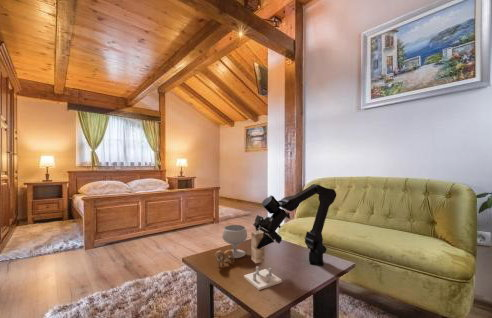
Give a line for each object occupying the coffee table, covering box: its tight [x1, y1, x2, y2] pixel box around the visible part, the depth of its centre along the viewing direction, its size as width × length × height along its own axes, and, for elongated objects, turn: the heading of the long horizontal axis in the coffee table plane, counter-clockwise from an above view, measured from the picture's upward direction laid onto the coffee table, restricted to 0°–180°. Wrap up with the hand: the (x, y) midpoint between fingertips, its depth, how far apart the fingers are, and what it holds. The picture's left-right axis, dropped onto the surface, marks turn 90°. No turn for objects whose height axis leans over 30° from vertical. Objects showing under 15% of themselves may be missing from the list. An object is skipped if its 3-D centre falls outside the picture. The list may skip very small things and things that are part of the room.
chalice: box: [221, 224, 248, 259], centre depth 132 cm, size 14×14×15 cm
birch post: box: [250, 230, 266, 264], centre depth 108 cm, size 4×4×13 cm
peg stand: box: [243, 265, 283, 291], centre depth 103 cm, size 12×12×4 cm
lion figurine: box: [214, 249, 235, 269], centre depth 119 cm, size 15×5×9 cm, turn 153°
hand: (255, 246), depth 107 cm, fingers closed on birch post, 4 cm apart
